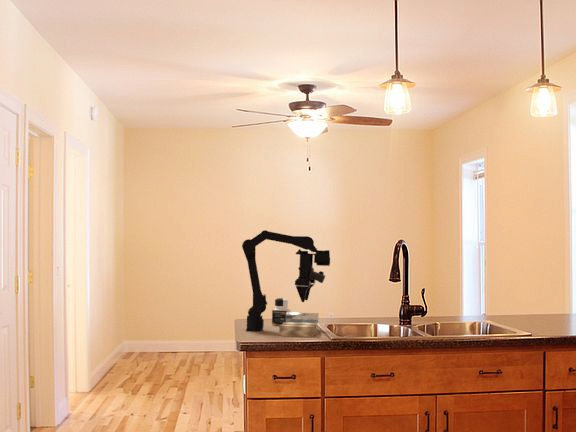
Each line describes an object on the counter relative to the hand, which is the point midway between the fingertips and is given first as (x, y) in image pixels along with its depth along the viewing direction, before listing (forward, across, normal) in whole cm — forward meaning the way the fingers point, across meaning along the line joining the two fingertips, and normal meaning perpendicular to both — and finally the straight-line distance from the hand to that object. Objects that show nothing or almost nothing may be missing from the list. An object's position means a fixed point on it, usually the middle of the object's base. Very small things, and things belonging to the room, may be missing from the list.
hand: (304, 301), depth 297 cm
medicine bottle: (+13, +17, +13) cm, 26 cm away
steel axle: (+7, +1, +1) cm, 8 cm away
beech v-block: (+13, -11, +1) cm, 17 cm away
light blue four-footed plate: (+13, +1, +1) cm, 13 cm away
